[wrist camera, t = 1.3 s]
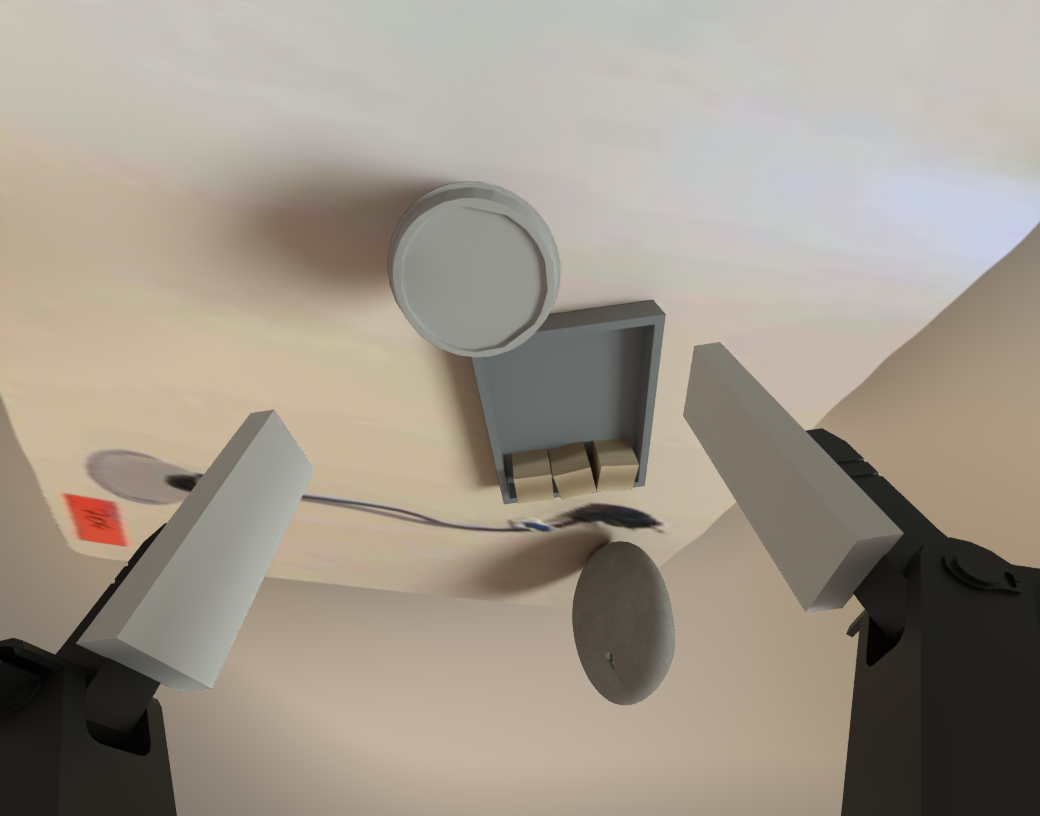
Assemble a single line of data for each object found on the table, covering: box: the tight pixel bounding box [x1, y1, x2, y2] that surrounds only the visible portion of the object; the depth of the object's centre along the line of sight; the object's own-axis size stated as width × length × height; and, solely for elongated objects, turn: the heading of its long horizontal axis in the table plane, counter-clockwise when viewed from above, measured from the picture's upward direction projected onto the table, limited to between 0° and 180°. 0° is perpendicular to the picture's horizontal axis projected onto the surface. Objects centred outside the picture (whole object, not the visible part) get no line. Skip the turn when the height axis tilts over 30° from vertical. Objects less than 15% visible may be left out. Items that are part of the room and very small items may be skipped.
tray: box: [471, 300, 666, 504], centre depth 40 cm, size 22×17×3 cm
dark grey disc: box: [572, 541, 675, 705], centre depth 52 cm, size 18×7×19 cm, turn 154°
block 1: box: [512, 448, 554, 503], centre depth 44 cm, size 4×4×4 cm
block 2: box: [549, 442, 596, 500], centre depth 44 cm, size 4×4×4 cm
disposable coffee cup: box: [388, 182, 560, 357], centre depth 26 cm, size 10×10×12 cm
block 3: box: [589, 439, 639, 492], centre depth 44 cm, size 4×4×4 cm
